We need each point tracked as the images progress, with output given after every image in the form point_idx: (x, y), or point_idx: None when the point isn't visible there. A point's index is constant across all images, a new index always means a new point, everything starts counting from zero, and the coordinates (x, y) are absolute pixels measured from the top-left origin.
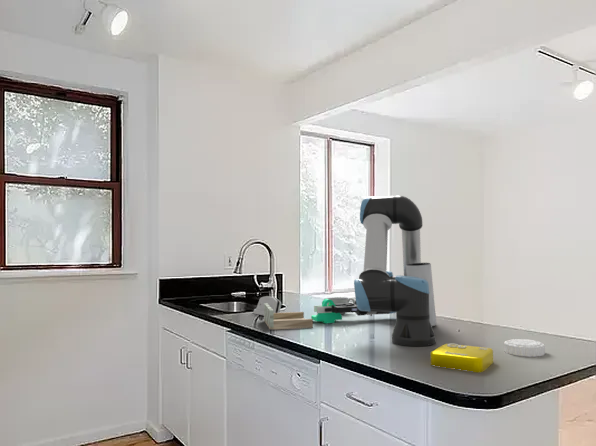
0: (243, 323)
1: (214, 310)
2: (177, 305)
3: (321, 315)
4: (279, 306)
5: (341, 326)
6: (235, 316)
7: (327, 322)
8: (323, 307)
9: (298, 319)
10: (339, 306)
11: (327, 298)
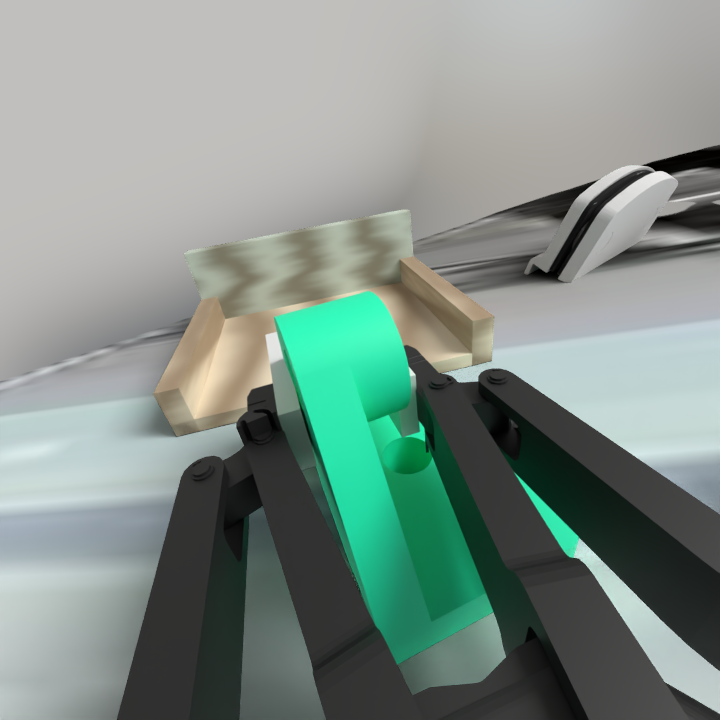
0: None
1: None
2: None
3: None
4: (589, 235)
5: (94, 668)
6: (498, 234)
7: (328, 504)
8: (271, 369)
9: (192, 345)
10: (268, 515)
11: None
